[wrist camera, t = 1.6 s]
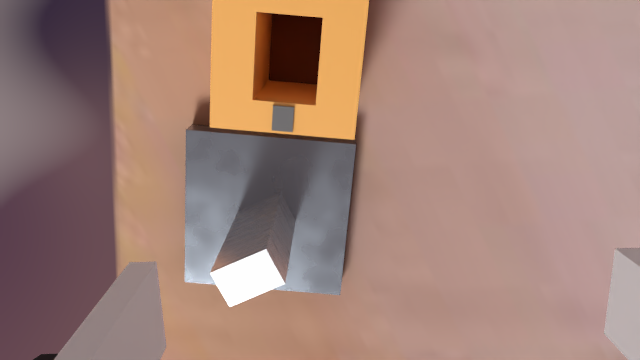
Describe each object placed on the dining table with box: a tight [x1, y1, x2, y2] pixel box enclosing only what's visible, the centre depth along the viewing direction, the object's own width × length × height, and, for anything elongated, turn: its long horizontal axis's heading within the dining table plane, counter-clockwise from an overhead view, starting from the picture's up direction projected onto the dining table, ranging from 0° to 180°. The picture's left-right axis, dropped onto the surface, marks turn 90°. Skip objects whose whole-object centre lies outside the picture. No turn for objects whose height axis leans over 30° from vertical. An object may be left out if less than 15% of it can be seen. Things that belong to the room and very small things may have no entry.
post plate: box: [185, 124, 356, 307], centre depth 30 cm, size 10×10×10 cm
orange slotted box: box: [210, 0, 369, 140], centre depth 29 cm, size 7×7×7 cm
